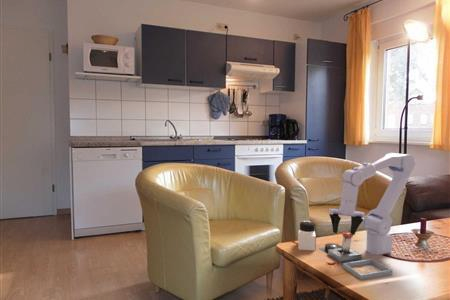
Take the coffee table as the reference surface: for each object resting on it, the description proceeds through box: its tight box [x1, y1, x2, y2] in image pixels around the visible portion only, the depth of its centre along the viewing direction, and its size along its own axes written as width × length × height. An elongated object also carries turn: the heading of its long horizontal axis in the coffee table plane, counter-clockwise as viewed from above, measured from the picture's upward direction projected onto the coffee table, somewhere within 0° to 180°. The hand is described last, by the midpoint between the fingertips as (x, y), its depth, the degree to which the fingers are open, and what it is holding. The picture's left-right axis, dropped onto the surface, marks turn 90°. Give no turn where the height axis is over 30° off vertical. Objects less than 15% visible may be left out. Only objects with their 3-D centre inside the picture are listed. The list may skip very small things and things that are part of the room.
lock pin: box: [341, 232, 354, 255], centre depth 135 cm, size 4×4×9 cm
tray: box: [342, 258, 393, 280], centre depth 122 cm, size 13×10×2 cm
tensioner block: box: [318, 242, 363, 264], centre depth 138 cm, size 10×16×3 cm, turn 17°
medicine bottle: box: [297, 220, 317, 251], centre depth 145 cm, size 7×7×12 cm
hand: (343, 233), depth 134 cm, fingers open, 7 cm apart
